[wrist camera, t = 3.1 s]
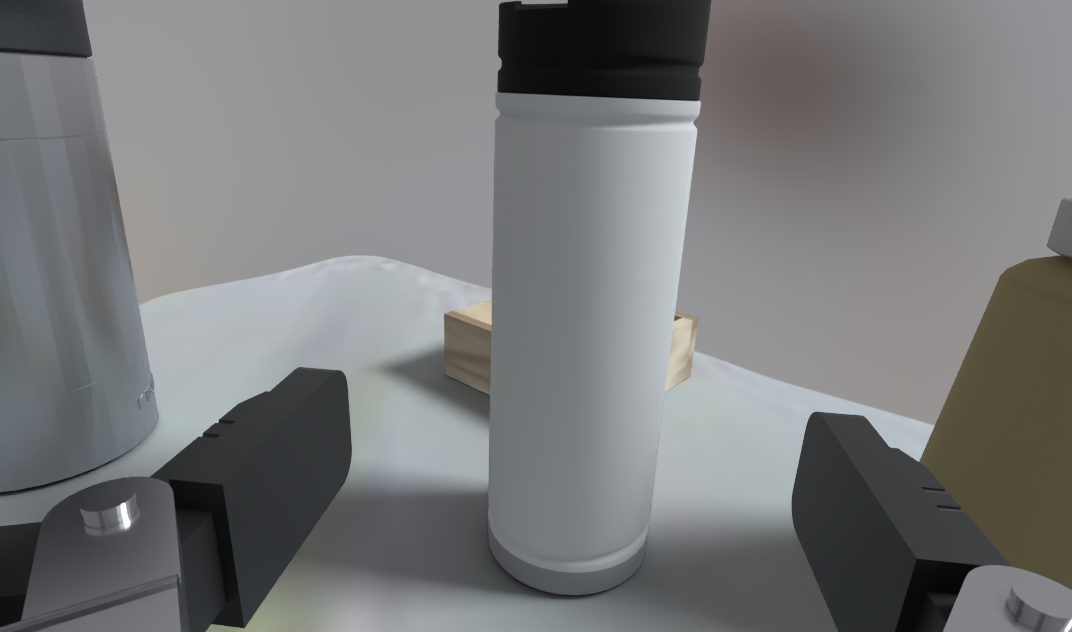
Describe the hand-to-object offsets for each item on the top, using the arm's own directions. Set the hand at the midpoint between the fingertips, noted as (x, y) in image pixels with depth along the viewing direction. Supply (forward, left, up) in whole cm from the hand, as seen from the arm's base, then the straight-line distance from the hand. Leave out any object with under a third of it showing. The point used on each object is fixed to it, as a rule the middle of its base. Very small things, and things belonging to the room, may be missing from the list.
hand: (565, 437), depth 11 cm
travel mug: (+6, +9, -11) cm, 16 cm away
